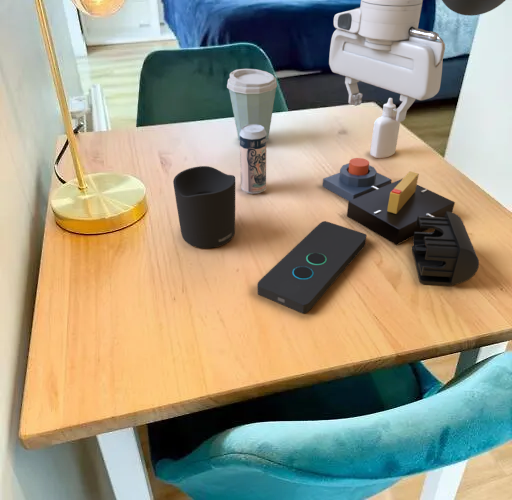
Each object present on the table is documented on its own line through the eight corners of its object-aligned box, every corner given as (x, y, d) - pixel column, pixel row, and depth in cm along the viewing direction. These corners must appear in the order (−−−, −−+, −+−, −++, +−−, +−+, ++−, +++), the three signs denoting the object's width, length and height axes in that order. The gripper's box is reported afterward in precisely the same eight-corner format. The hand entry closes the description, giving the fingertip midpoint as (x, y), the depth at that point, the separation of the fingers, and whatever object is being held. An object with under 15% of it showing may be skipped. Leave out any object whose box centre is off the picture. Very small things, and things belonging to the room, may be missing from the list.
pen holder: (180, 253, 78) (174, 197, 72) (178, 221, 86) (172, 168, 80) (240, 247, 79) (239, 191, 74) (233, 217, 87) (231, 163, 81)
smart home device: (254, 283, 69) (322, 219, 83) (254, 293, 70) (321, 228, 84) (307, 305, 66) (369, 234, 79) (306, 315, 67) (368, 243, 80)
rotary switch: (396, 190, 94) (398, 175, 93) (456, 220, 86) (460, 203, 84) (342, 213, 88) (343, 197, 86) (401, 248, 79) (405, 231, 77)
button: (357, 166, 96) (359, 156, 95) (372, 173, 93) (373, 162, 92) (344, 171, 94) (345, 161, 93) (358, 178, 92) (359, 168, 91)
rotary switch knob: (406, 189, 88) (410, 169, 86) (415, 191, 88) (419, 172, 85) (386, 211, 82) (390, 191, 80) (396, 214, 82) (400, 193, 79)
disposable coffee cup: (280, 134, 117) (282, 68, 108) (271, 154, 108) (272, 83, 99) (236, 131, 119) (234, 65, 110) (223, 149, 110) (220, 80, 101)
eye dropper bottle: (367, 150, 109) (374, 94, 102) (393, 149, 109) (402, 94, 102) (371, 158, 106) (378, 102, 99) (398, 158, 106) (407, 101, 99)
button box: (359, 172, 101) (361, 156, 99) (390, 187, 95) (393, 170, 93) (322, 186, 96) (323, 169, 94) (352, 203, 91) (354, 186, 89)
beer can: (254, 198, 92) (253, 135, 85) (235, 189, 95) (233, 128, 88) (271, 188, 95) (272, 127, 88) (253, 181, 98) (252, 121, 91)
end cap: (472, 289, 71) (484, 250, 67) (420, 286, 71) (429, 247, 67) (457, 249, 79) (467, 211, 75) (410, 246, 79) (418, 209, 76)
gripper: (460, 31, 71) (439, 126, 79) (353, 10, 84) (345, 92, 92) (433, 37, 68) (414, 135, 76) (326, 14, 81) (319, 99, 89)
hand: (375, 111), depth 84 cm, fingers open, 8 cm apart
